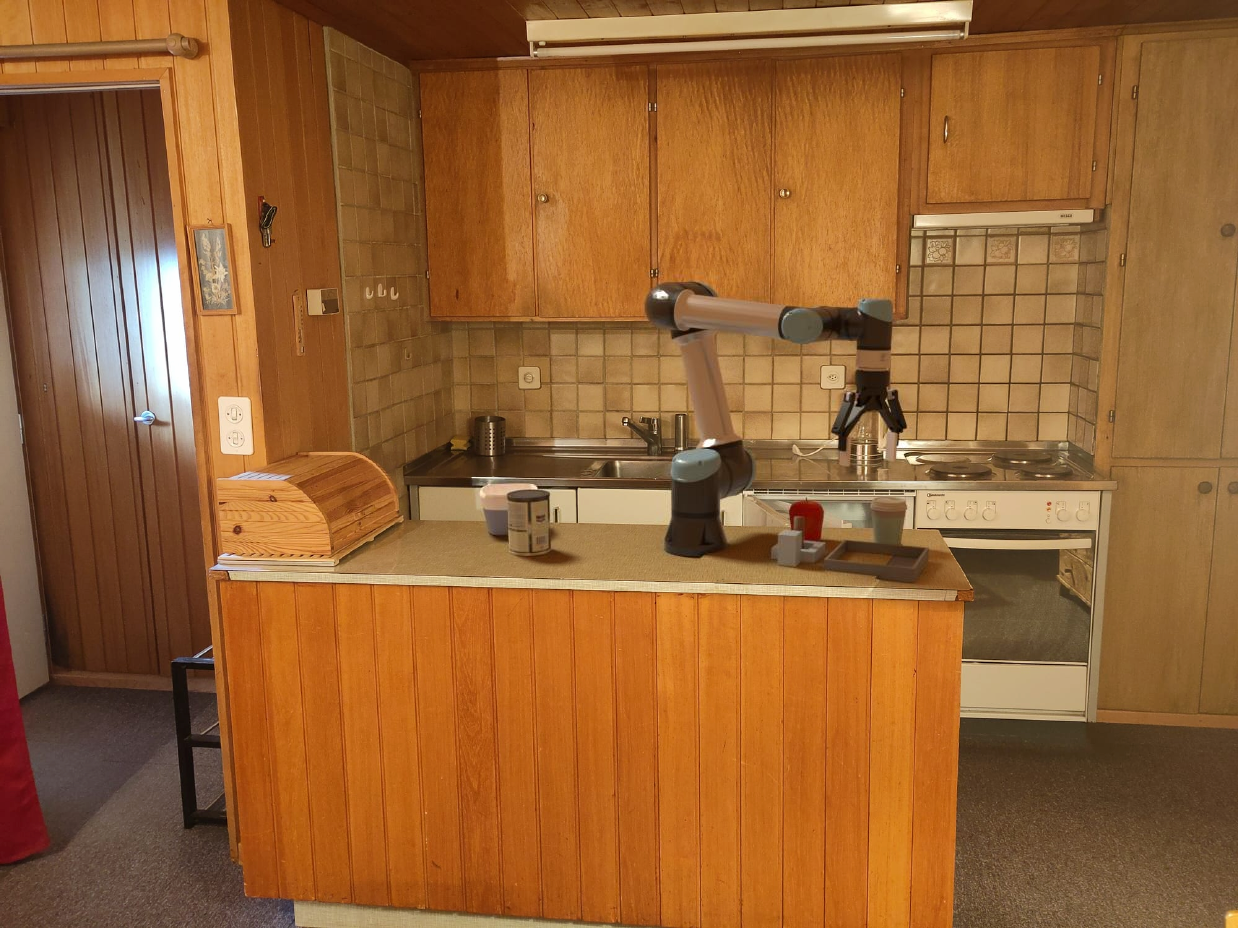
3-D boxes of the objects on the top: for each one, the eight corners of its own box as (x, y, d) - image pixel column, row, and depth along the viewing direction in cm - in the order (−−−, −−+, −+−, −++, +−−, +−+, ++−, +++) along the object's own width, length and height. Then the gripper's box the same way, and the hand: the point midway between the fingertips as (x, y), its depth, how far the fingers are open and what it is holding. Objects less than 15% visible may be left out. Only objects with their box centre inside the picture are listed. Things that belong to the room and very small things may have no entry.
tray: (823, 573, 228) (823, 559, 227) (843, 552, 245) (844, 539, 245) (914, 582, 220) (914, 568, 219) (928, 560, 237) (929, 547, 237)
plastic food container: (481, 525, 277) (479, 484, 275) (539, 523, 278) (538, 482, 277) (479, 538, 262) (478, 495, 260) (541, 536, 263) (540, 493, 262)
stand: (768, 561, 237) (769, 520, 236) (782, 550, 247) (782, 510, 246) (815, 567, 233) (816, 524, 231) (827, 555, 243) (828, 514, 241)
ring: (764, 563, 233) (765, 533, 232) (783, 548, 246) (784, 519, 245) (808, 568, 229) (809, 537, 228) (825, 552, 242) (825, 523, 241)
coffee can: (521, 543, 256) (520, 487, 254) (558, 547, 252) (557, 490, 250) (500, 553, 247) (498, 495, 245) (538, 558, 243) (536, 499, 240)
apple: (821, 549, 248) (822, 501, 246) (786, 547, 251) (787, 499, 249) (825, 541, 256) (826, 494, 254) (791, 539, 259) (791, 492, 257)
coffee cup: (907, 554, 243) (908, 504, 241) (869, 552, 245) (871, 502, 243) (904, 545, 251) (906, 496, 249) (868, 543, 253) (869, 495, 251)
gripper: (840, 372, 221) (835, 470, 225) (926, 368, 233) (920, 461, 237) (817, 369, 228) (813, 464, 232) (902, 365, 240) (897, 456, 244)
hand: (867, 463), depth 235 cm, fingers open, 13 cm apart
